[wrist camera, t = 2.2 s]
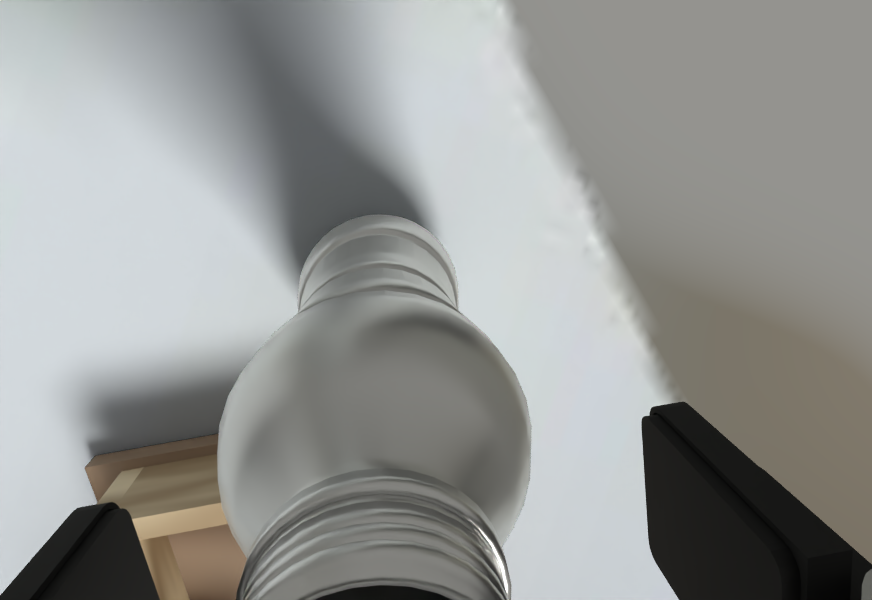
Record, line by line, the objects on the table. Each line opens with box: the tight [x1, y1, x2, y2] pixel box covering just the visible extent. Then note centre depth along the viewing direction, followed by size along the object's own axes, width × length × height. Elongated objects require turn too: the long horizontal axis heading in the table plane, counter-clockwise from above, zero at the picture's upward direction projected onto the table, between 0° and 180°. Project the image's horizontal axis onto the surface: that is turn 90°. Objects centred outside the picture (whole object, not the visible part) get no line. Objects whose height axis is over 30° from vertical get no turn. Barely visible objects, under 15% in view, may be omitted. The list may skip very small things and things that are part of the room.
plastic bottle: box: [217, 214, 531, 600], centre depth 16 cm, size 6×7×20 cm
